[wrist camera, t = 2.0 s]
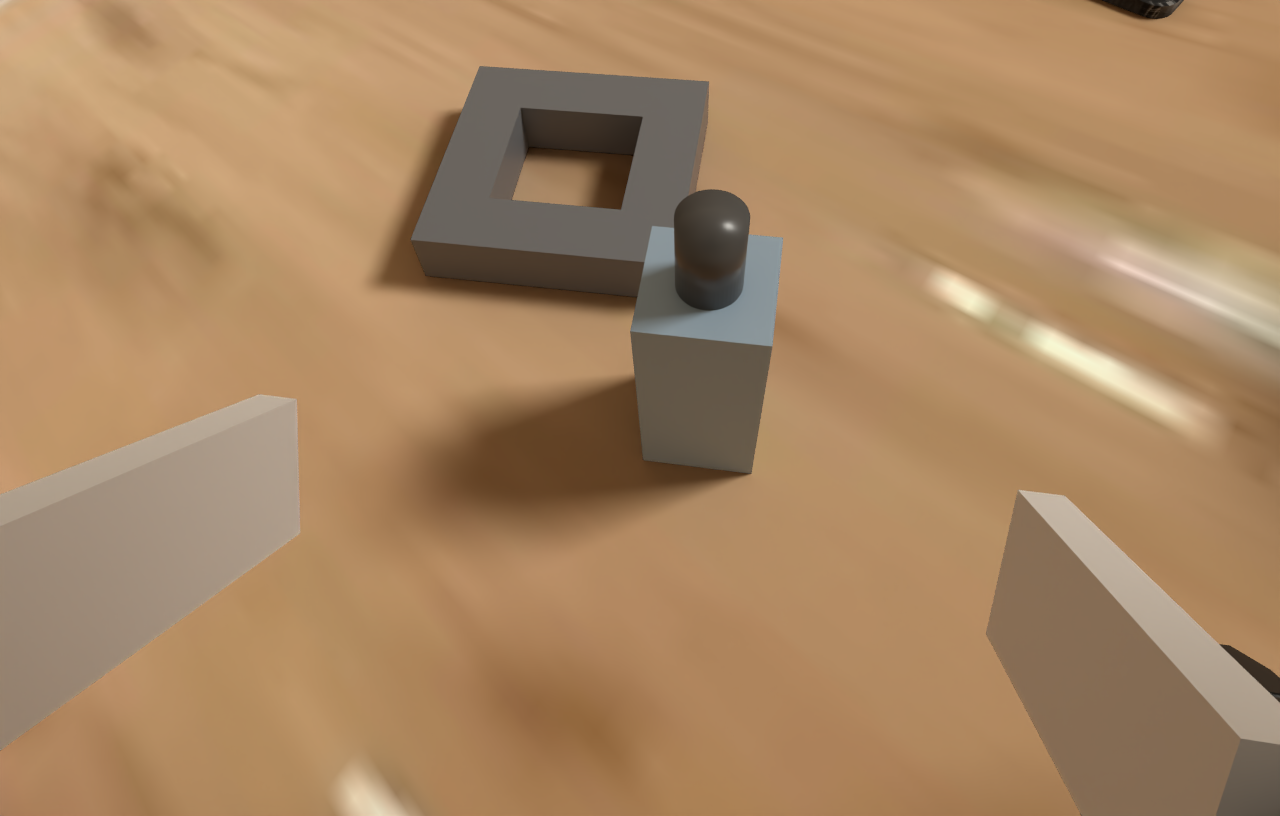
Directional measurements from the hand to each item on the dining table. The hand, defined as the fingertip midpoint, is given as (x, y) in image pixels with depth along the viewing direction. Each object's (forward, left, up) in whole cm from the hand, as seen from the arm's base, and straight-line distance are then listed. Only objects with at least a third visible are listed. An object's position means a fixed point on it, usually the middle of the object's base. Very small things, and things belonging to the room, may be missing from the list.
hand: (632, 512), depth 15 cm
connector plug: (0, -11, -16) cm, 19 cm away
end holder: (+8, -23, -16) cm, 29 cm away
